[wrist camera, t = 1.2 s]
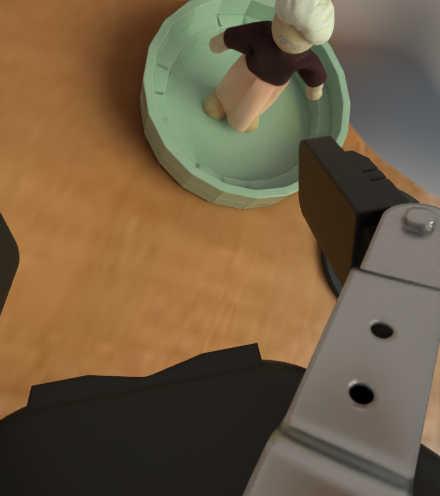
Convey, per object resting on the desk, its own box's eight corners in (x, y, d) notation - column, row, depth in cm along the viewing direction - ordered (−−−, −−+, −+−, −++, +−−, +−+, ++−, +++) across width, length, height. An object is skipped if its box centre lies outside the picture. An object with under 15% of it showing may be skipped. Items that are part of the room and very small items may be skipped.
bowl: (96, 99, 29) (94, 72, 26) (235, -10, 33) (250, -46, 30) (240, 249, 31) (257, 243, 27) (358, 127, 35) (386, 107, 31)
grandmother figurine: (186, 123, 31) (236, 5, 18) (194, 76, 31) (248, -69, 19) (283, 148, 32) (387, 55, 20) (288, 102, 33) (393, -14, 21)
